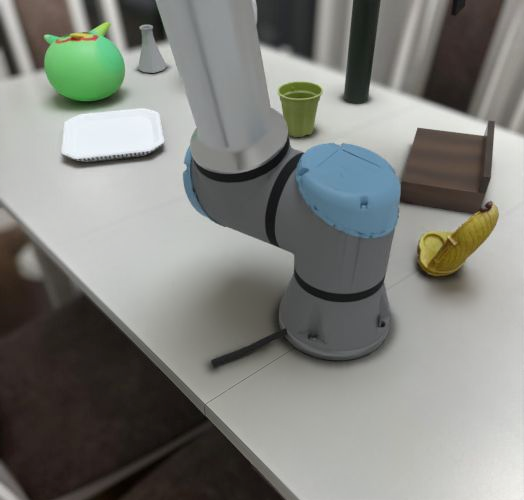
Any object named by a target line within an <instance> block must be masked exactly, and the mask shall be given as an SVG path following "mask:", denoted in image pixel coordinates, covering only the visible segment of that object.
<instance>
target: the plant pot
mask: <svg viewBox="0 0 524 500" xmlns="http://www.w3.org/2000/svg"><path fill="white" fill-rule="evenodd" d="M276 93H277V95H278V96H279V100H280V102H281V110H282V116H283V117H284V119H285V120H286V123H287V127H288V133H289V137H295V138H303V137H305V136H310V135H311V134H313V132H314V128H315V124H316V123H315V122H316V116H317V112H318V106H319V102H320V100H321V96H322V95H323V94H324V89H323V87H322V86H321V85H320V84H318V83H315V82H311V81H303V80H302V81H301V80H300V81H299V80H298V81H289V82H285V83H283V84H281V85H280V86H279V87H278V88H277V89H276Z"/></svg>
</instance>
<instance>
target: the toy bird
mask: <svg viewBox="0 0 524 500" xmlns="http://www.w3.org/2000/svg"><path fill="white" fill-rule="evenodd" d="M111 25H112V24H111V22H110V21H106V22H103V23H101V24H99V25H98V26H96V27H95V28H93V29H91V30H90V31H81V32H72V33H71V32H70V33H67V34H64V35H62V36H60V37H59V36H56V35H53V34H44V35H43V38H44V40H45V41H46V43H48V45H49V46H48V47H47V50H46V52H45V55H44V60H43V61H44V62H43V66H44V67H43V68H44V73H45V75H46V76H45V77H46V78H47V80H48V82H49V84H50V85H51V87H53V89H54V90H55V91H56V92H57V93H59V94H60V95H62V96H63V97H65V98H67V99H70V100H73V101H77V102H97V101H101V100H103V99H106V98H109V97H110V96H112V95H114V94H115V93H116V92H118V90H119V89H120V88H121V87H122V85H123V83H124V80H125V76H126V64H125V59H124V57H123V55H122V53H121V51H120V49H119V48H118V46H116V44H115V43H114V42H113V41H111V40H110V39H108V38H107V37H105V36H106V34H107V32H108V30H109V29H110V27H111Z"/></svg>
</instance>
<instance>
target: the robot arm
mask: <svg viewBox="0 0 524 500" xmlns="http://www.w3.org/2000/svg"><path fill="white" fill-rule="evenodd" d="M154 1H155V3H156V7H157V11H158V13H159V16H160V19H161V22H162V25H163V28H164V31H165V34H166V38H167V41H168V43H169V47H170V50H171V54H172V56H173V59H174V62H175V66H176V69H177V72H178V75H179V77H180V81H181V85H182V87H183V90H184V93H185V97H186V99H187V104H188V106H189V108H190V112H191V115H192V118H193V121H194V124H195V129H194V131H193V132H192V135H191V138H190V140H189V141H190V142H189V146H188V147H187V149H186V152H185V154H184V155H185V156H184V159H183V160H184V161H183V164H184V165H185V166H186V169H185V170H184V171H183V172H182V181H183V188H184V192H185V195H186V197H187V199H188V201H189V203H190V205H191V206H192V207H193V208H194V209H195V211H196V212H197V213H199V214H200V215H201V216H203V217H205V218H207V219H208V220H210V221H211V222H214V224H217V225H219V226H222V227H224V228H228V229H231V230H233V231H236V232H237V233H238V232H239V233H242V234H244V235H246V236H248V237H251V238H254V239H257V240H259V241H261V242H264V243H267V244H269V245H272V246H274V247H276V248H278V249H281V250H284V251H287V252H289V253H291V254H292V255H293V260H294V261H293V274H292V276H291V278H290V280H289V282H288V284H287V287H286V289H285V291H284V294H283V296H282V297H281V300H280V303H279V308H278V324H279V328H280V330H277V331H276V332H273V333H271V334H269V335H267V336H265V337H263V338H261V339H259V340H257V341H254V342H253V343H251V344H249V345H247V346H244V347H242V348H240V349H237V350H234V351H232V352H229V353H226V354H223V355H221V356H218V357H214V358H212V359H210V363H211V365H212V367H216V366H219V365H221V364H224V363H227V362H230V361H233V360H236V359H238V358H241V357H243V356H245V355H248V354H250V353H252V352H255V351H256V350H258V349H260V348H262V347H264V346H266V345H268V344H270V343H273V342H274V341H276V340H278V339H281V338H283V337H284V338H285V339H286V340H287V341H288V343H290V345H292V346H293V347H294V348H296V349H297V350H299V351H300V352H302V353H305V354H306V355H309V356H312V357H314V358H318V359H322V360H329V361H347V360H348V361H349V360H355V359H358V358H361V357H364V356H367V355H368V354H370V353H372V352H374V351H376V349H378V348H379V347H380V346H381V345H382V344H383V342H384V341H385V340H386V338H387V335H388V333H389V329H390V324H391V320H392V319H391V309H390V304H389V298H388V293H387V289H386V284H385V280H386V273H387V270H388V265H389V261H390V257H391V256H390V255H391V250H392V246H393V240H394V236H395V231H396V227H397V225H398V221H399V218H400V202H399V201H400V194H401V180H400V178H399V176H398V175H397V172H396V170H395V168H394V167H393V166H392V165H391V163H390V162H388V161H387V160H386V159H385V158H384V157H382V156H381V155H379V154H378V153H376V152H375V151H372V150H370V149H368V148H365V147H363V146H359V145H356V144H351V143H345V142H343V143H342V144H341V145H339V144H336V143H335V142H327V143H321V144H317V145H314V146H311V147H310V148H308V149H307V150H306V151H301V150H299V149H295V148H293V147H292V146H291V140H290V135H289V133H288V127H287V123H286V120H285V119H284V117H283V114H282V113H280V111H278V110H276V109H275V108H273V107H271V102H270V95H269V90H268V83H267V79H266V72H265V67H264V61H263V55H262V50H261V44H260V38H259V34H258V33H259V32H258V27H257V25H256V21H255V15H254V10H253V4H252V0H154ZM466 1H467V0H452V3H451V4H452V5H451V11H450V14H451V15H450V16H454V17H456V16H457V15H458V14H459V13H460V12H461V11H463V9H464V8H465V7H466Z"/></svg>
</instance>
